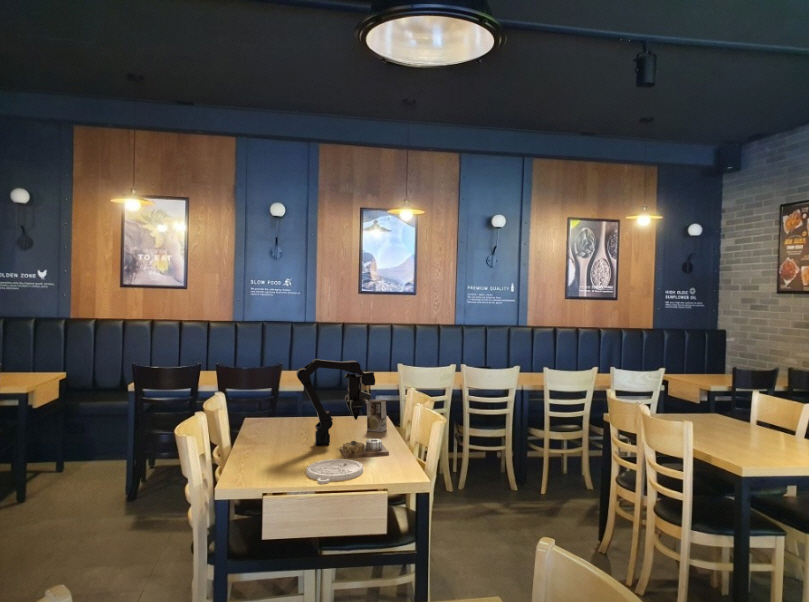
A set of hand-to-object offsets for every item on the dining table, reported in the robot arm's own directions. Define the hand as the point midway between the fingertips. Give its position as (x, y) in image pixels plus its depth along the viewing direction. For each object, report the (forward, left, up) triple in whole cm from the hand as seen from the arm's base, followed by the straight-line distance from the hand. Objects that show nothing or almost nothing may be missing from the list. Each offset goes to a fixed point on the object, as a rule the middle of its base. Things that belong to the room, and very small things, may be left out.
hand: (354, 417), depth 283 cm
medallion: (-17, -46, -13) cm, 51 cm away
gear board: (+1, -20, -12) cm, 23 cm away
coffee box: (+16, +20, -12) cm, 28 cm away
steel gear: (+6, -20, -10) cm, 23 cm away
